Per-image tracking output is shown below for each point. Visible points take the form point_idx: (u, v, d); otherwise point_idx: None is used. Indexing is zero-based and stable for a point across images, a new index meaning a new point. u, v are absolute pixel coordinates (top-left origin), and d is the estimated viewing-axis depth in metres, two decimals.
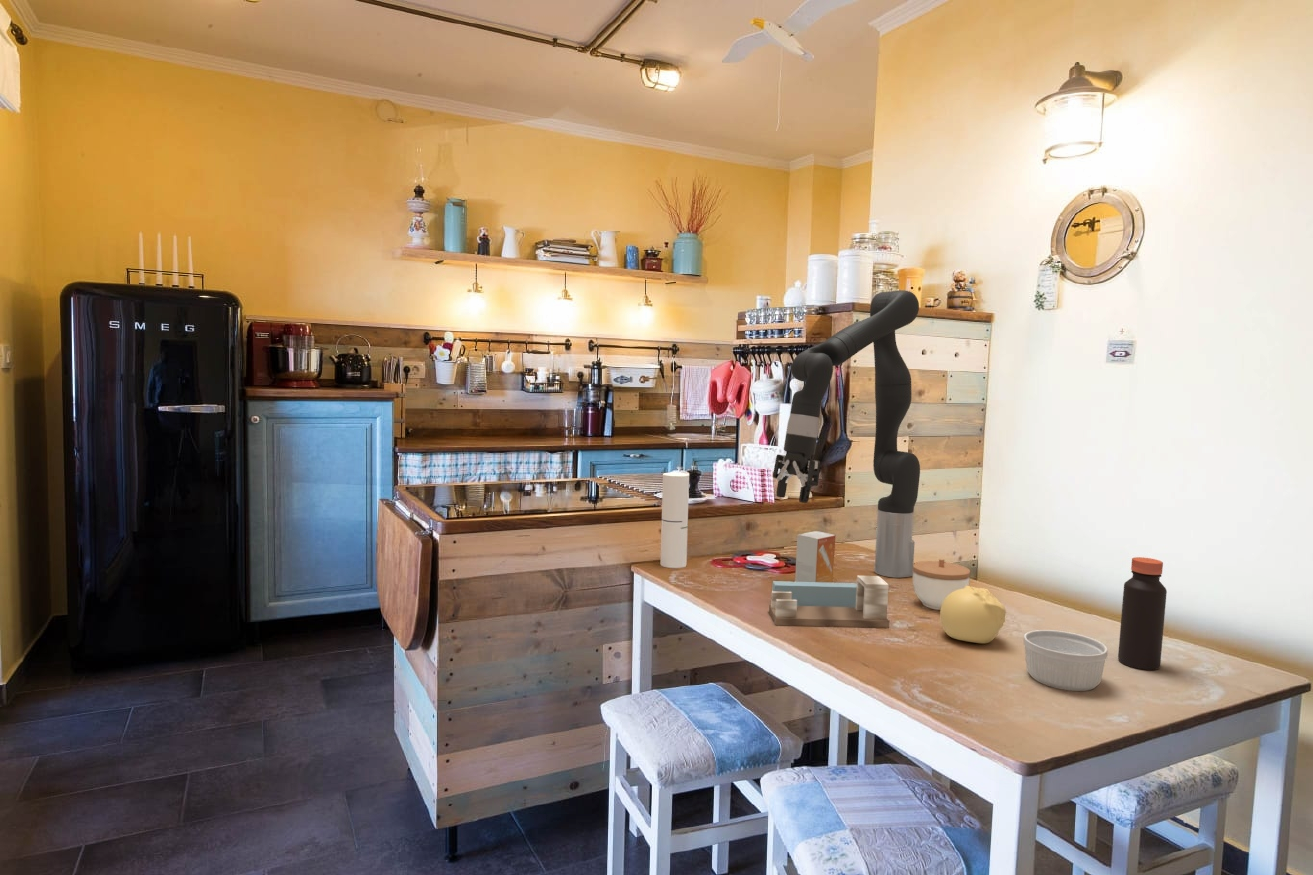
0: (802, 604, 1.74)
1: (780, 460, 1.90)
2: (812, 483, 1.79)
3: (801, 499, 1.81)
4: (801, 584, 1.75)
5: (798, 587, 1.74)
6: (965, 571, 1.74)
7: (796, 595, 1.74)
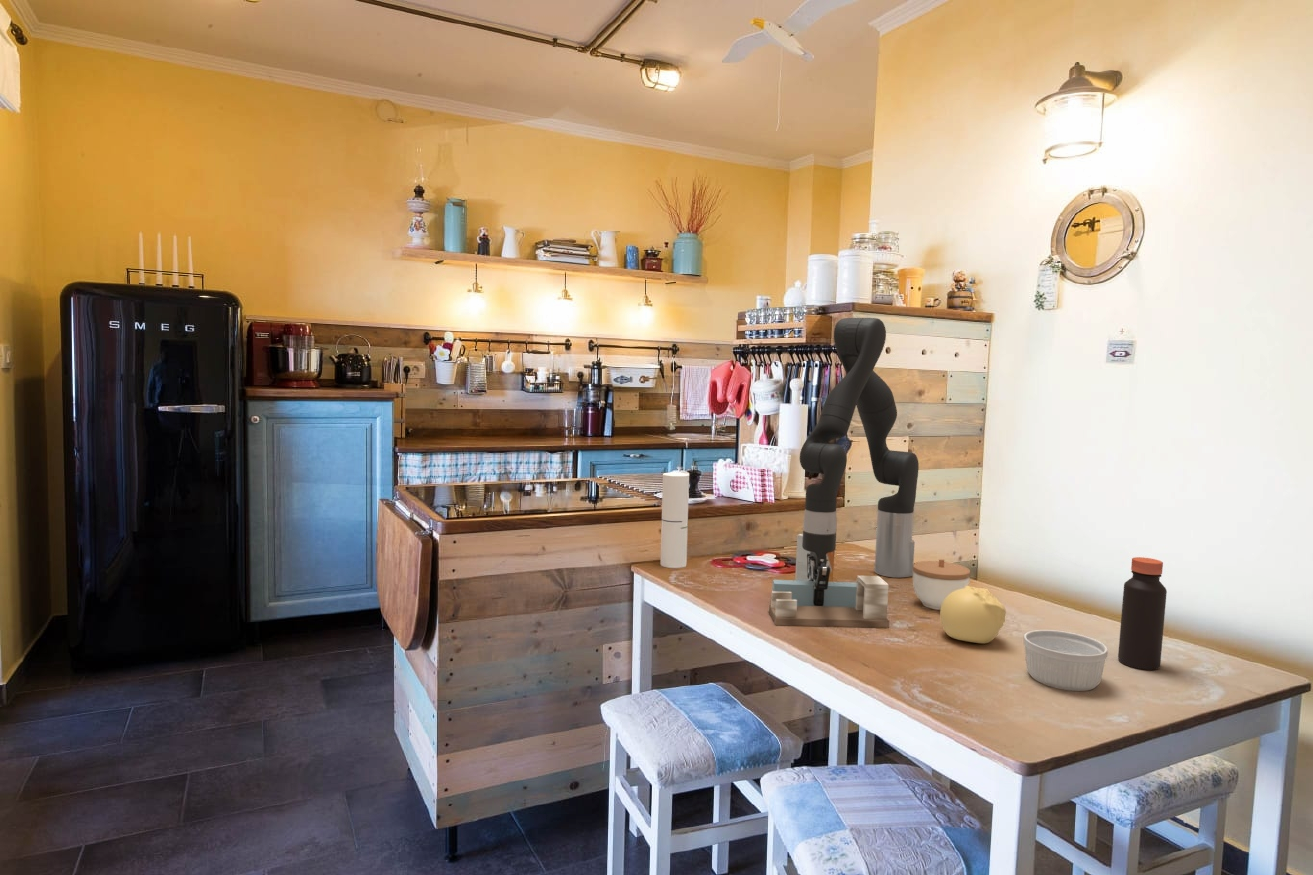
0: (802, 603, 1.74)
1: None
2: (819, 588, 1.71)
3: (814, 602, 1.74)
4: (801, 583, 1.75)
5: (798, 586, 1.74)
6: (965, 571, 1.74)
7: (796, 594, 1.74)
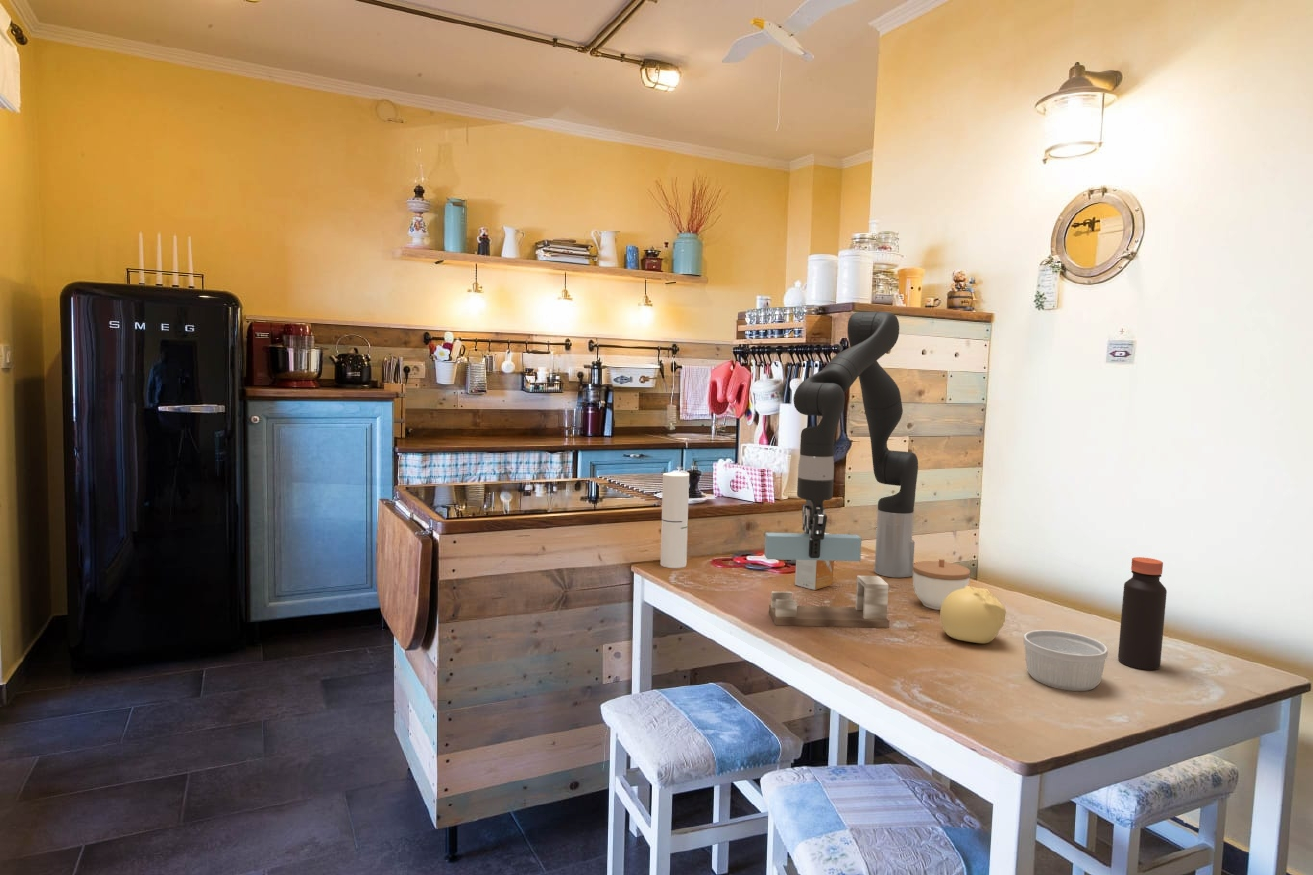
0: (797, 556, 1.62)
1: None
2: (815, 538, 1.59)
3: (810, 554, 1.62)
4: (796, 535, 1.63)
5: (793, 538, 1.62)
6: (965, 571, 1.74)
7: (791, 547, 1.62)
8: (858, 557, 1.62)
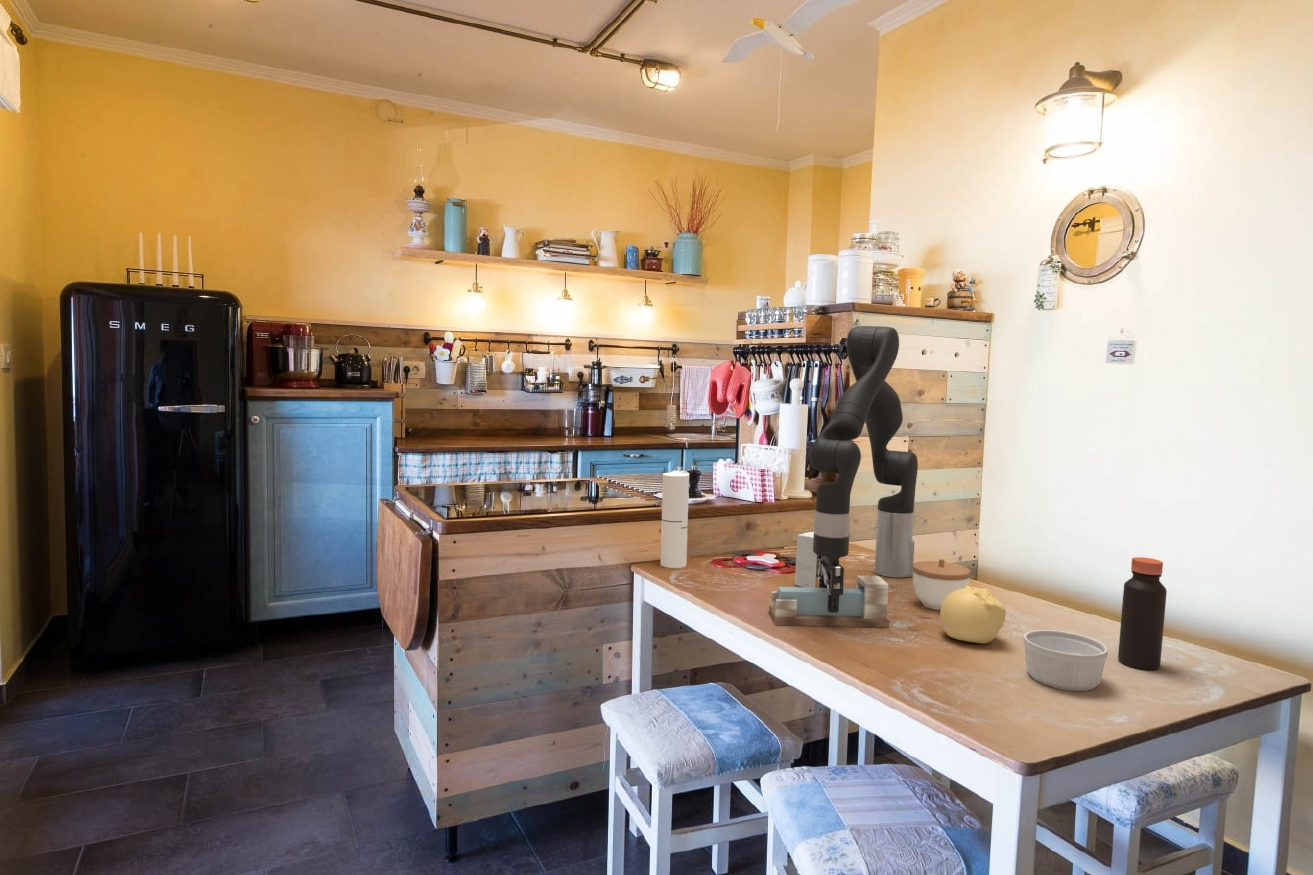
0: (810, 611, 1.63)
1: (820, 558, 1.70)
2: (834, 592, 1.58)
3: (829, 609, 1.60)
4: (809, 590, 1.64)
5: (806, 593, 1.63)
6: (965, 571, 1.74)
7: (804, 602, 1.63)
8: None
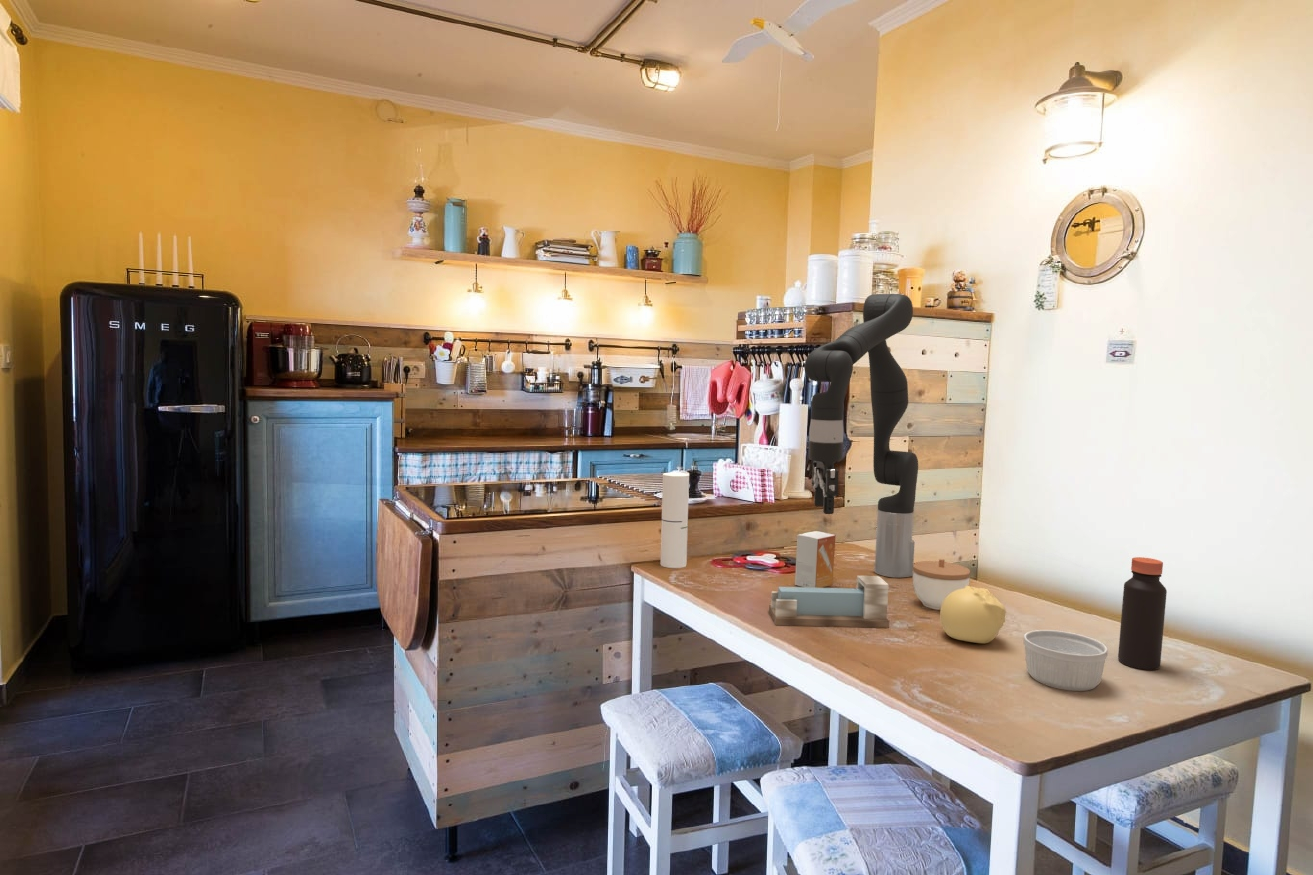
0: (810, 611, 1.63)
1: (815, 467, 1.78)
2: (830, 494, 1.66)
3: (824, 510, 1.69)
4: (809, 590, 1.64)
5: (806, 593, 1.63)
6: (965, 571, 1.74)
7: (804, 602, 1.63)
8: None
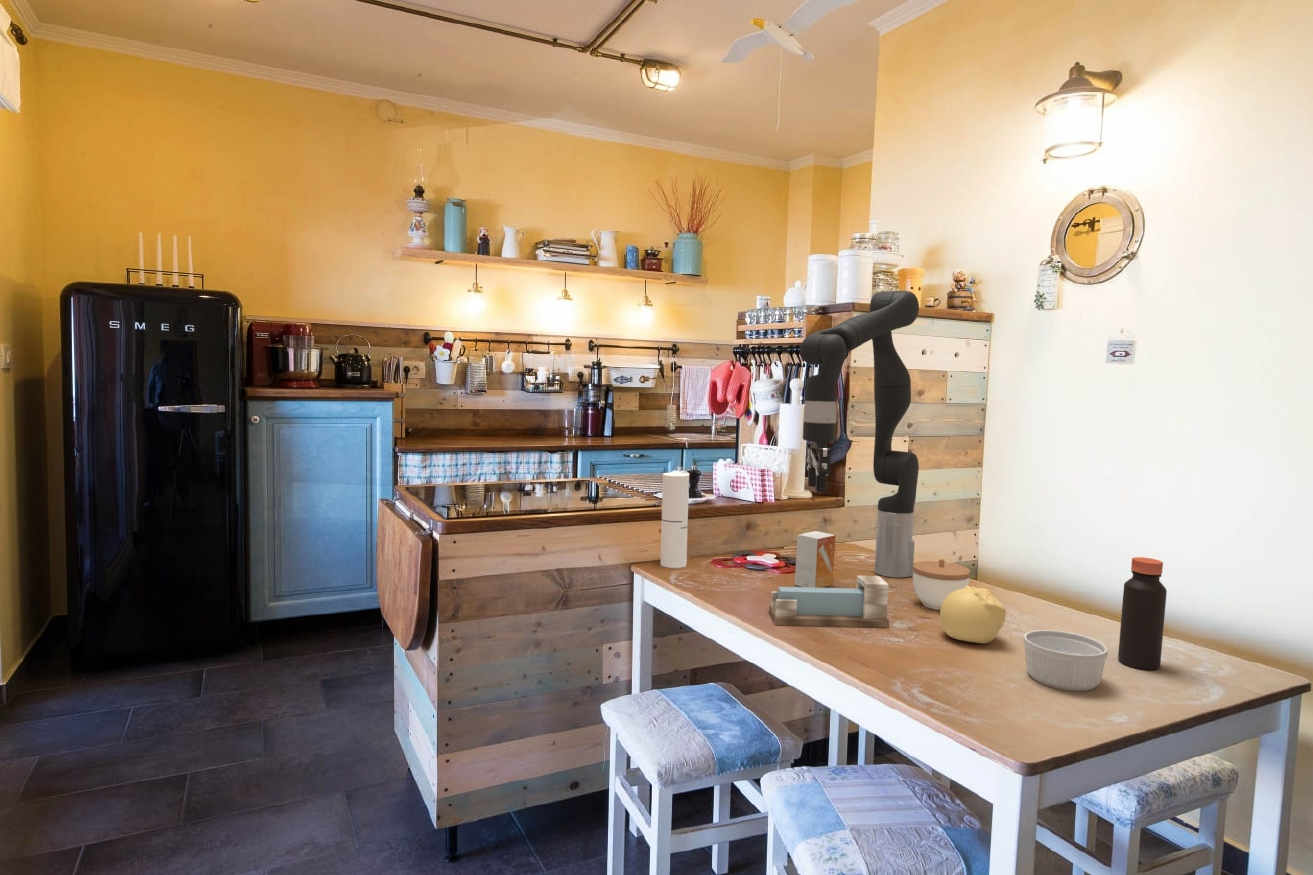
0: (810, 611, 1.63)
1: None
2: (822, 472, 1.71)
3: (817, 489, 1.74)
4: (809, 590, 1.64)
5: (806, 593, 1.63)
6: (965, 571, 1.74)
7: (804, 602, 1.63)
8: None
